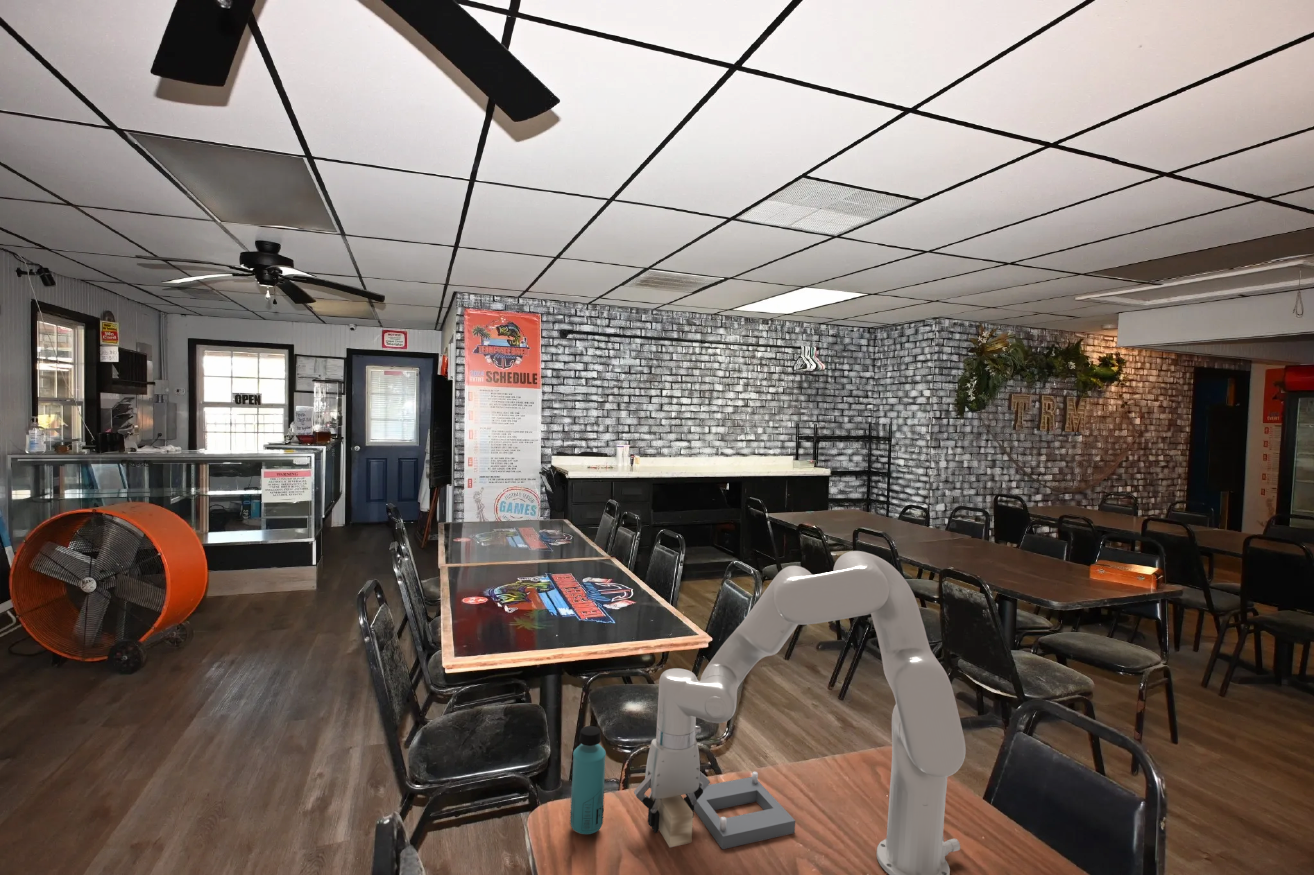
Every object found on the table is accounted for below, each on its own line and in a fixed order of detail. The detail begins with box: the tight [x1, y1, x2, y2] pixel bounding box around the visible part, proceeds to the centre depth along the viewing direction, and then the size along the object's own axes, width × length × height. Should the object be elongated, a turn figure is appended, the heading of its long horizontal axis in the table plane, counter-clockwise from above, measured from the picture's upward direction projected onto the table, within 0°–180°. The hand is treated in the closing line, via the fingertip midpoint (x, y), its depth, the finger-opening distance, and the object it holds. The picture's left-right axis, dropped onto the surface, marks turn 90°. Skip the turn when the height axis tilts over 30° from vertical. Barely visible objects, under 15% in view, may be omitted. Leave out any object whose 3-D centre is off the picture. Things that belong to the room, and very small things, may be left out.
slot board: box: [694, 771, 796, 850], centre depth 131 cm, size 16×16×4 cm
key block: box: [657, 795, 694, 848], centre depth 126 cm, size 4×10×6 cm, turn 22°
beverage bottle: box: [569, 725, 607, 835], centre depth 124 cm, size 6×7×20 cm
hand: (670, 824), depth 126 cm, fingers open, 6 cm apart
